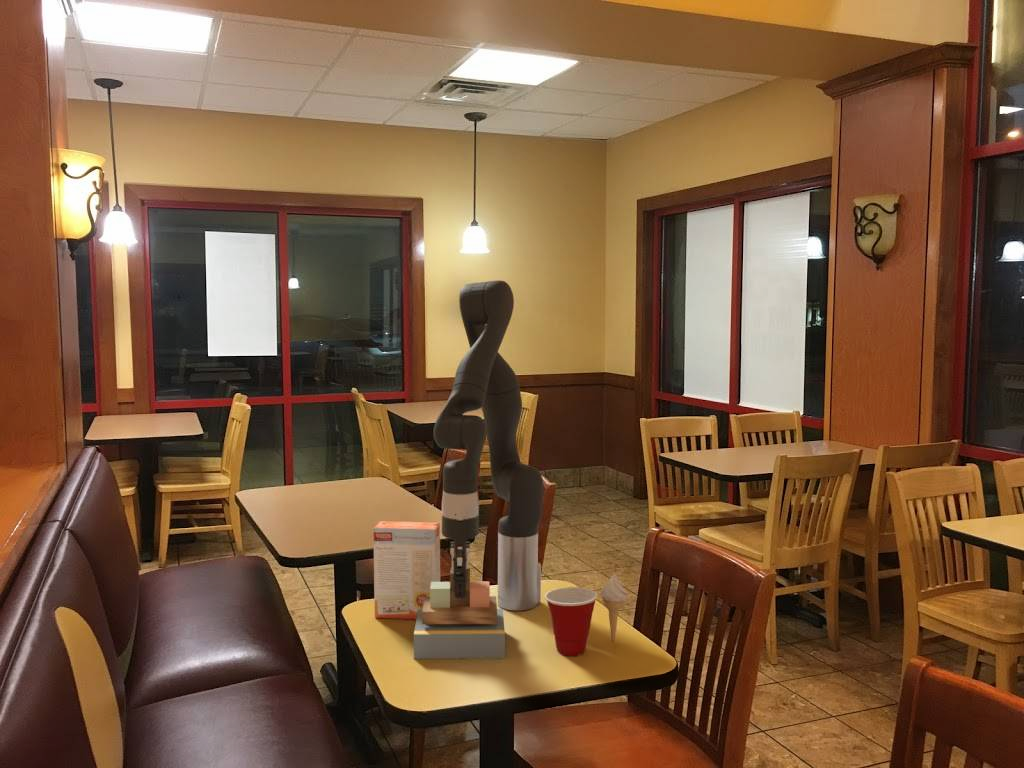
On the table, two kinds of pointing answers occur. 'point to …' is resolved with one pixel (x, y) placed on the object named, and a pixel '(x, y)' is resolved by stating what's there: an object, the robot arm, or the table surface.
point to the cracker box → (404, 566)
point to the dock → (459, 640)
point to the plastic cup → (571, 617)
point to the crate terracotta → (479, 594)
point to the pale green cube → (440, 595)
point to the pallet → (460, 608)
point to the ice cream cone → (613, 601)
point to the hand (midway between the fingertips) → (460, 594)
